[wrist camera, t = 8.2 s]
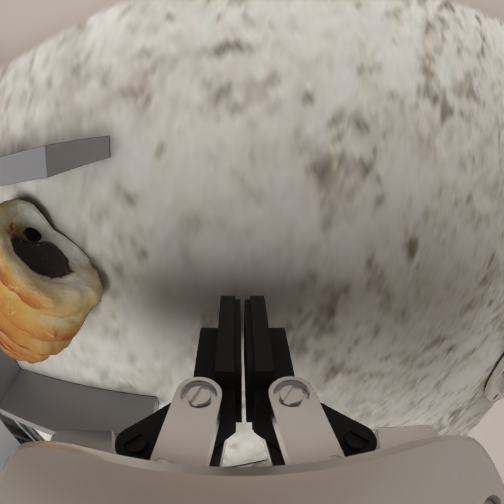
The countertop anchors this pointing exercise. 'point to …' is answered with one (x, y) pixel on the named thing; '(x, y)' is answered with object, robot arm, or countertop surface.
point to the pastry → (40, 285)
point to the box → (45, 388)
